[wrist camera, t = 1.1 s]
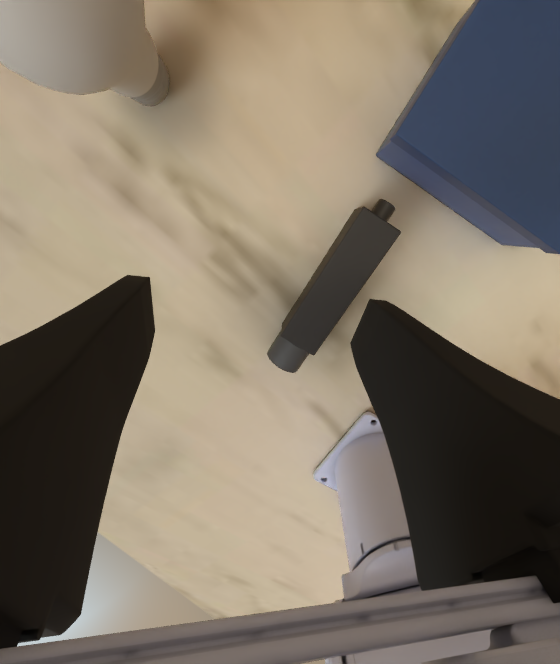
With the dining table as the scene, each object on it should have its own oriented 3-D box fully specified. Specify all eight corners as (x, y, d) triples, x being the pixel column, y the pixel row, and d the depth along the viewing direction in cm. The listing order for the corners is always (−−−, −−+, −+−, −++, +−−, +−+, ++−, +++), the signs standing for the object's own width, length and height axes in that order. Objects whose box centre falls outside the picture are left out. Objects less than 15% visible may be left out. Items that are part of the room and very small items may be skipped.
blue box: (599, 133, 17) (703, 101, 12) (502, 248, 19) (561, 254, 15) (457, 17, 15) (519, -64, 11) (371, 156, 17) (395, 133, 13)
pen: (364, 193, 18) (375, 188, 16) (398, 216, 18) (413, 215, 16) (268, 345, 22) (264, 360, 19) (297, 362, 22) (297, 378, 20)
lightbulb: (200, 13, 16) (14, -404, 5) (211, 145, 18) (91, 29, 7) (90, 19, 16) (-287, -364, 6) (113, 148, 18) (-134, 40, 8)
